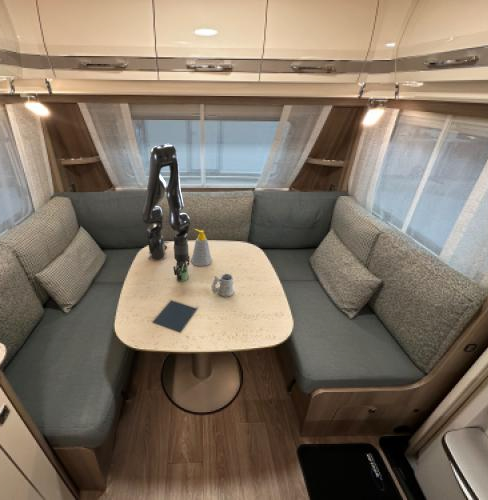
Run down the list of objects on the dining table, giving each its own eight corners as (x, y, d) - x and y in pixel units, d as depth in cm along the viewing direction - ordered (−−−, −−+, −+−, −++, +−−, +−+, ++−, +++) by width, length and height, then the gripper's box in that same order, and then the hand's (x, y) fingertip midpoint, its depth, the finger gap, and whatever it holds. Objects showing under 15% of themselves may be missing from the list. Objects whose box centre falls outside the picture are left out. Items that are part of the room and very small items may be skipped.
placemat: (171, 300, 132) (171, 300, 132) (196, 308, 127) (196, 308, 127) (152, 322, 120) (152, 321, 120) (180, 332, 115) (180, 331, 115)
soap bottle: (199, 253, 172) (199, 224, 162) (215, 259, 166) (216, 230, 156) (187, 261, 163) (186, 232, 153) (203, 268, 157) (203, 238, 147)
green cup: (180, 273, 152) (179, 265, 150) (189, 276, 150) (189, 268, 147) (174, 279, 147) (174, 271, 145) (184, 282, 145) (184, 274, 143)
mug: (235, 295, 136) (237, 276, 130) (214, 300, 133) (214, 281, 127) (229, 286, 143) (230, 268, 137) (208, 291, 139) (209, 272, 133)
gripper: (181, 243, 147) (182, 268, 155) (167, 255, 136) (169, 281, 144) (193, 246, 144) (194, 271, 153) (180, 258, 133) (182, 285, 141)
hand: (182, 276), depth 148 cm, fingers closed on green cup, 6 cm apart
